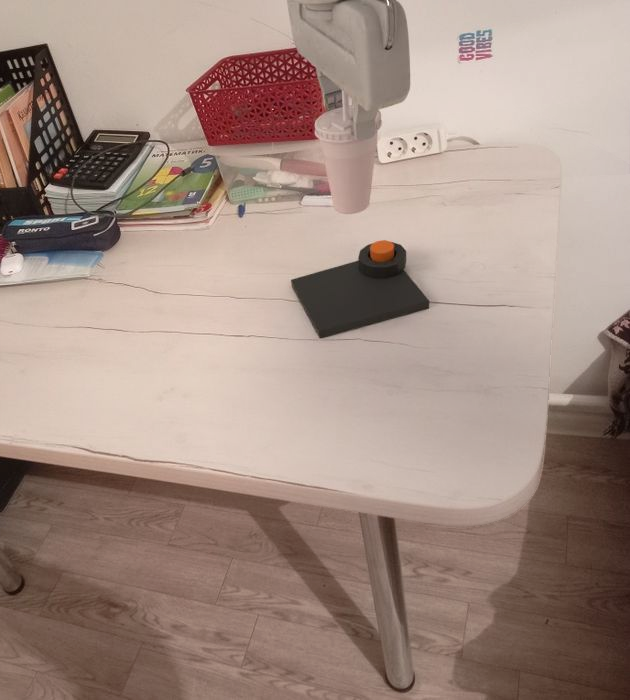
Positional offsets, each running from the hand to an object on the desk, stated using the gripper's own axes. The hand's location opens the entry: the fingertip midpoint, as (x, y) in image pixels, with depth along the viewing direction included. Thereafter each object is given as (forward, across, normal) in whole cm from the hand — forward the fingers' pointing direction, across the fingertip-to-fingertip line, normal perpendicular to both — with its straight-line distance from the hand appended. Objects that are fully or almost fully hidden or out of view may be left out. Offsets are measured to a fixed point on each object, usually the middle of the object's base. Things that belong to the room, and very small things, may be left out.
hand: (347, 122), depth 61 cm
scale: (+26, +5, -2) cm, 27 cm away
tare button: (+24, +9, -7) cm, 26 cm away
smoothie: (+9, 0, 0) cm, 9 cm away
